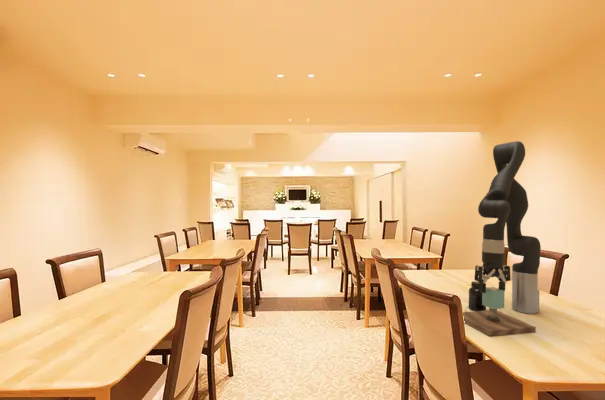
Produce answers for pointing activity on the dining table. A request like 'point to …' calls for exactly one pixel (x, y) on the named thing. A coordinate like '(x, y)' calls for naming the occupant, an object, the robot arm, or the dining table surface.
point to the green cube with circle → (493, 298)
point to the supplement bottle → (475, 297)
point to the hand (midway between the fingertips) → (492, 292)
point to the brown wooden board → (496, 323)
